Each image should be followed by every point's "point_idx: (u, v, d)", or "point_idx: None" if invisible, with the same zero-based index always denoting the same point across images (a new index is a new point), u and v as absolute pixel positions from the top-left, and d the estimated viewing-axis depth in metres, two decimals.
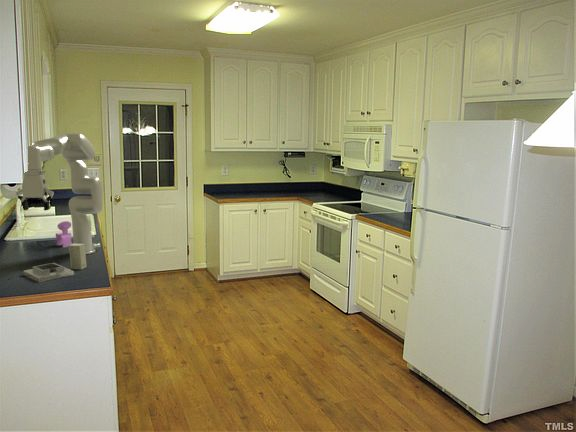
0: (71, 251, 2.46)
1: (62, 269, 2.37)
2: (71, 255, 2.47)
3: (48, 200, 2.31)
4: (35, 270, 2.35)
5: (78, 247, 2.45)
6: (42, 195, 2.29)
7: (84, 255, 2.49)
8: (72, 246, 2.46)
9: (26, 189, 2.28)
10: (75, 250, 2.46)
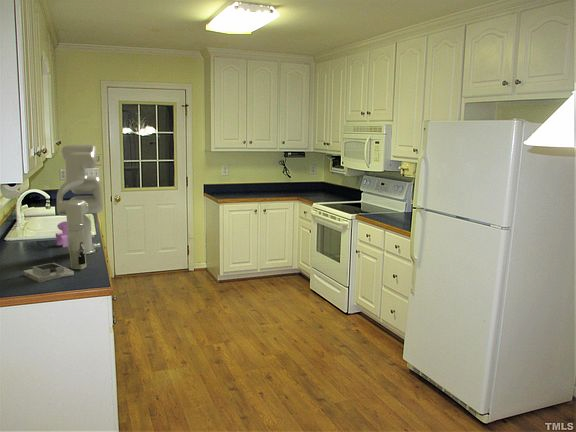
0: (71, 251, 2.46)
1: (62, 269, 2.37)
2: (71, 255, 2.47)
3: None
4: (35, 270, 2.35)
5: None
6: None
7: None
8: None
9: None
10: None
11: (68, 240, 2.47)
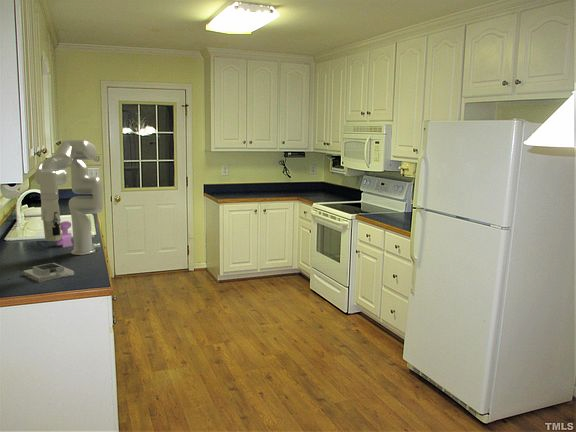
0: (45, 222, 2.34)
1: (62, 269, 2.37)
2: (45, 226, 2.35)
3: None
4: (35, 270, 2.35)
5: None
6: None
7: None
8: None
9: None
10: None
11: (42, 210, 2.35)
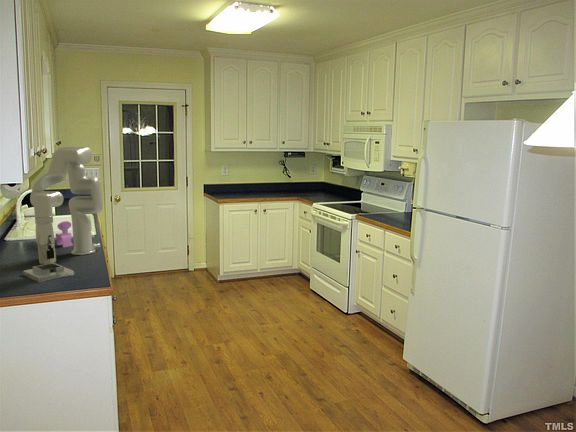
0: (39, 245, 2.34)
1: (62, 269, 2.37)
2: (39, 249, 2.34)
3: None
4: (35, 270, 2.35)
5: None
6: None
7: None
8: None
9: None
10: None
11: (36, 233, 2.34)
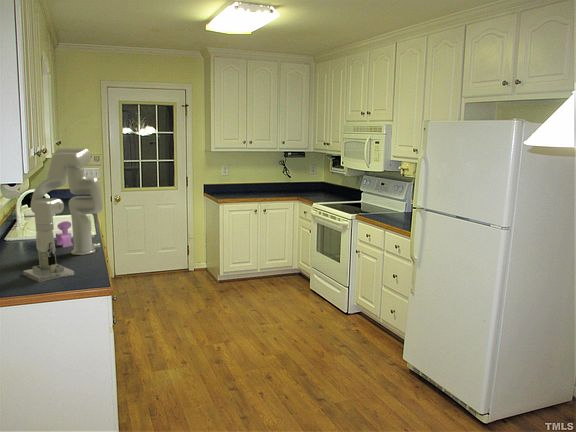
0: (40, 257, 2.35)
1: (62, 269, 2.37)
2: (40, 261, 2.35)
3: None
4: (35, 270, 2.35)
5: None
6: None
7: None
8: (41, 252, 2.34)
9: None
10: (45, 256, 2.34)
11: (37, 240, 2.35)
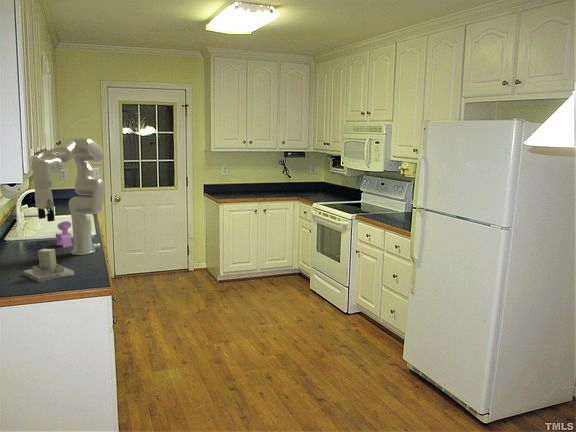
0: (40, 257, 2.35)
1: (62, 269, 2.37)
2: (40, 261, 2.35)
3: (41, 208, 2.49)
4: (35, 270, 2.35)
5: (48, 253, 2.34)
6: None
7: (54, 261, 2.37)
8: (41, 252, 2.34)
9: None
10: (45, 256, 2.34)
11: (36, 198, 2.43)
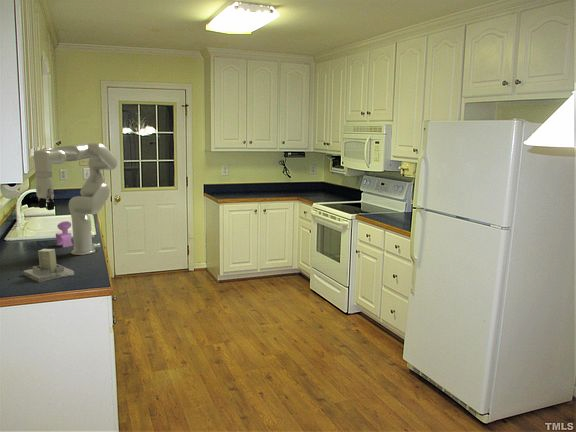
0: (40, 257, 2.35)
1: (62, 269, 2.37)
2: (40, 261, 2.35)
3: None
4: (35, 270, 2.35)
5: (48, 253, 2.34)
6: None
7: (54, 261, 2.37)
8: (41, 252, 2.34)
9: None
10: (45, 256, 2.34)
11: (37, 187, 2.52)
